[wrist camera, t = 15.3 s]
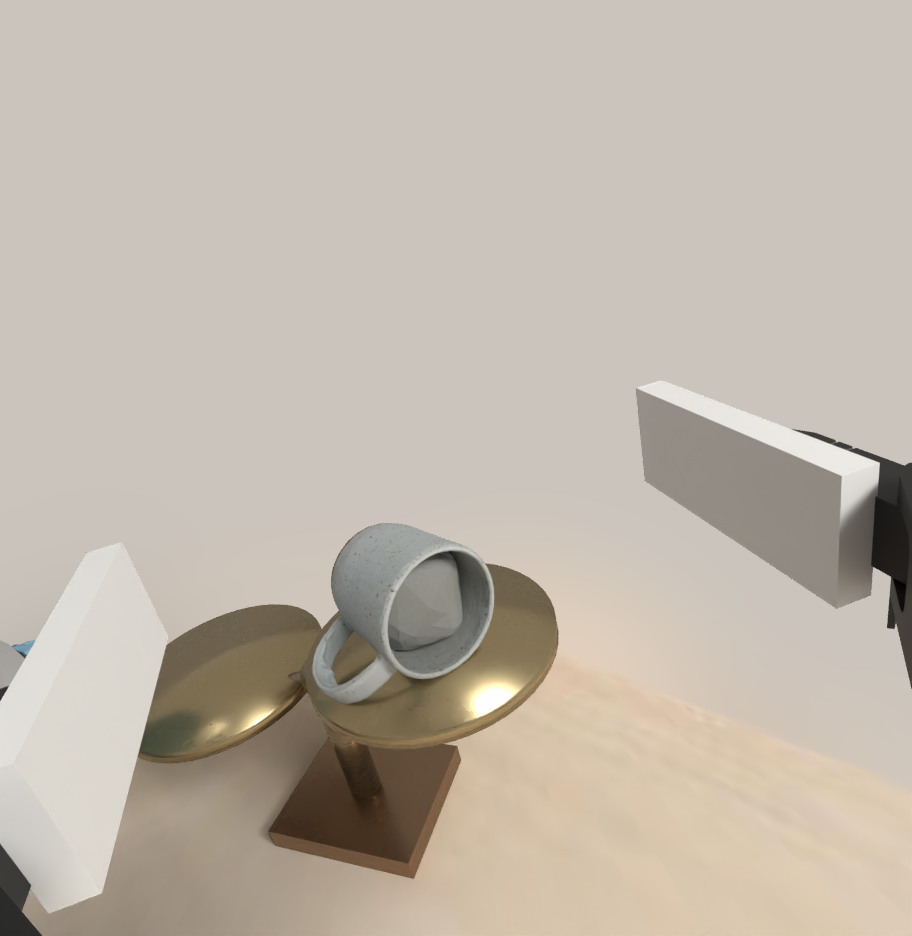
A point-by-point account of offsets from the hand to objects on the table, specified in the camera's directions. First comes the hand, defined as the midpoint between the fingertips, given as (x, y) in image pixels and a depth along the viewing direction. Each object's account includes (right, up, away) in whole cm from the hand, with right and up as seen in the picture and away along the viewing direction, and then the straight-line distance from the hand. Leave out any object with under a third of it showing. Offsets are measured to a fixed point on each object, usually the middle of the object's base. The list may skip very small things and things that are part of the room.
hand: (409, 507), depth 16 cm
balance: (-6, -26, +35) cm, 43 cm away
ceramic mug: (-2, -11, +23) cm, 25 cm away
